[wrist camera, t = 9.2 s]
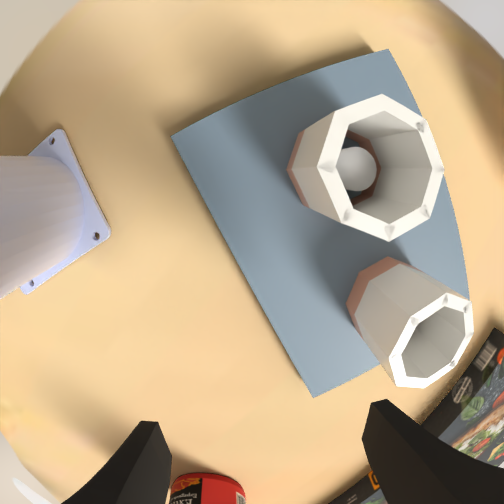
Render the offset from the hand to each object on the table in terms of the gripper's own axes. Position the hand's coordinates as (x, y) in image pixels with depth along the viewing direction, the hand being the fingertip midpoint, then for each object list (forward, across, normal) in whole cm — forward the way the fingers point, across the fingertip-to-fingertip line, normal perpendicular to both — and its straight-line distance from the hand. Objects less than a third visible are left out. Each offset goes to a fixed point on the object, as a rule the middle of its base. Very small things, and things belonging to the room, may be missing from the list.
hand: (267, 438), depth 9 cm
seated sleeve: (+9, -8, 0) cm, 12 cm away
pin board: (+10, -6, -5) cm, 13 cm away
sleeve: (+9, -5, -8) cm, 13 cm away
